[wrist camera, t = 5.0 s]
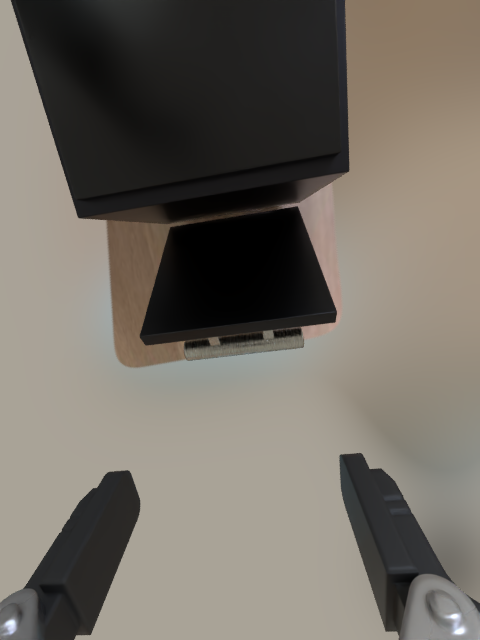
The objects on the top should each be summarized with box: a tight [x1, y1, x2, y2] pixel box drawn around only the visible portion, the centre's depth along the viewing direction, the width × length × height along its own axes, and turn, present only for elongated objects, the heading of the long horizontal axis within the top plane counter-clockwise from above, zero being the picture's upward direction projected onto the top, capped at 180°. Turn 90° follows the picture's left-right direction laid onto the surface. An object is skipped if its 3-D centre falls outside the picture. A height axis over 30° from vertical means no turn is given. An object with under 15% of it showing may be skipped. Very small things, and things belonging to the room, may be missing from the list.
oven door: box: [140, 206, 337, 361], centre depth 24 cm, size 5×13×14 cm, turn 100°
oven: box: [11, 0, 349, 224], centre depth 18 cm, size 16×13×18 cm
